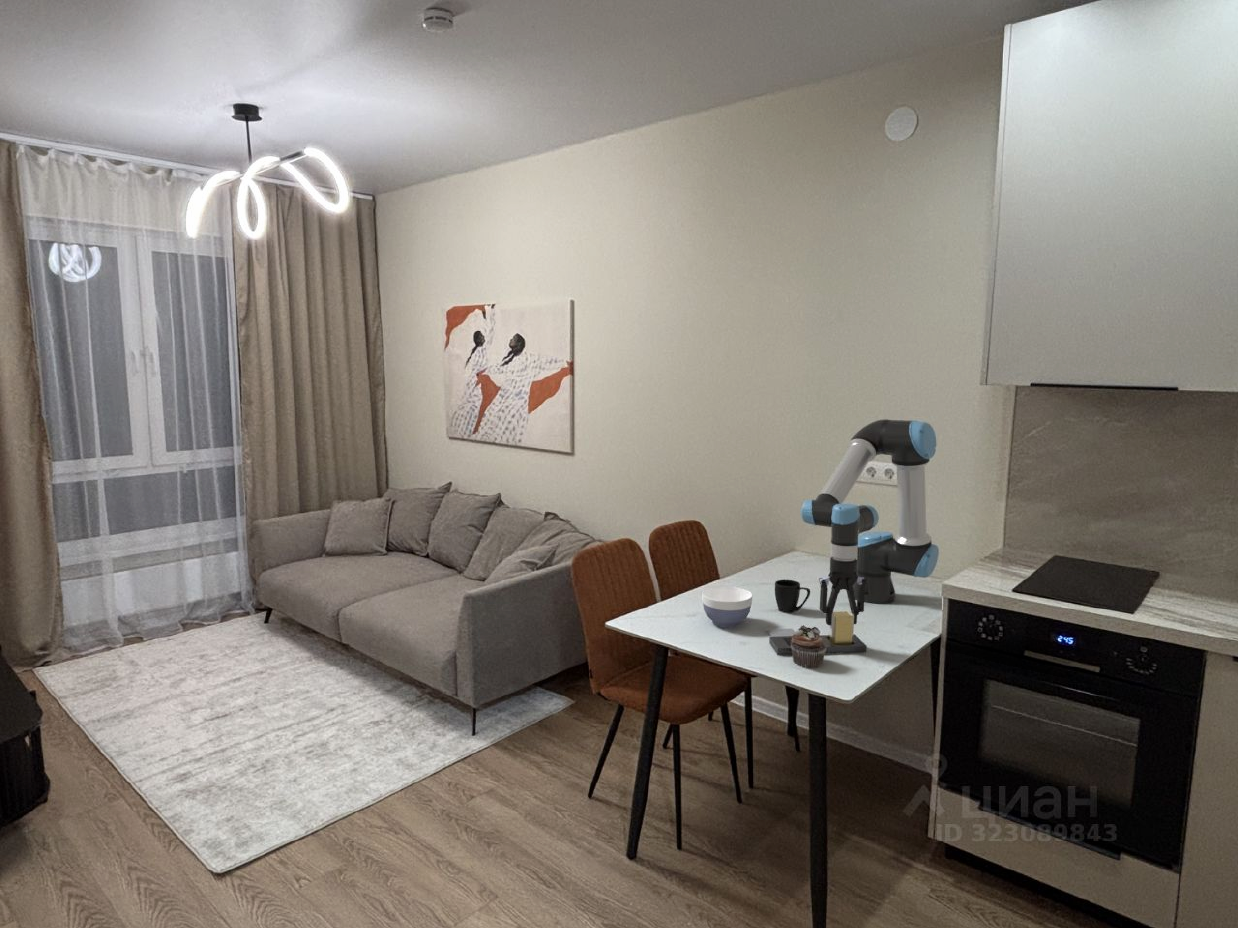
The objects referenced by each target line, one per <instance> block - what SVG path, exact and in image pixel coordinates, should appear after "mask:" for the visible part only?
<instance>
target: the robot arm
mask: <svg viewBox="0 0 1238 928" xmlns="http://www.w3.org/2000/svg"><path fill="white" fill-rule="evenodd" d="M936 447H937V437H936V432H935V429H934V428H933V427H932V426H931V424H930V423H928V422H926V421H918V420H906V419H905V420H901V419H900V420H898V419H886V418H885V419H879V420H878V419H877V420H875V421H872V422H871V423H869V424H867V425H865V426H863V427H862V428H861V429H860V430H858V431H857V432H856V433H855V434H854V435H853V437H852V438H850V441H849V442H848V443H847V450H846V453H845V454H844V456H843V457H842V459H841V460H840V462H839V463H838V465H837V466H836V468H835V470H834V471H833V472H832V474H831V476H830V477H829V478H828V480H827V481H826V483H825V485H824V486H823V488H822V489H821V491H820V492H819V493H818V495H817V497H816V499H812V498H811V499H806V500H804V502H803V503H802V506H801V509H800V516H801V519H802V521H803V522H804V523H806V524H808V525H812V526H819V527H827V528H831V529H830V530H831V536H830V538H831V539H830V556H831V557H830V558H829V573H828V576H827V577H823V578H822V577H820V578H819V579H818V581H819V584H820V593H819V594H820V595H819V599H820V600H819V611H821V612H822V613H823V614H825V624H826V625H828V631H827V632H828V634H827V635H830V636H831V637H834V624H835V615H834V614H833V612H834V609H835V606H836V602H837V599H838V596H839V594H840V592H841V590H846V594H847V599H848V603H849V608H850V611H847V612H848V613H849V614H850V615H851V616H852V617H853V632H852V636H853V635H854V632H855V631H854V626H855V625H857V623H858V616H859V614H860V613H863V612H864V611H865V603H870V604H871V603H873V604H888V603H892V602H894V601H895V600H896V590H895V587H894V583H893V580H892V573H895V574H900V575H905V576H911V577H914V578H922V579H923V578H924V579H925V578H928V577H930V576H931V575H932V574H933V572H934V571H935V568H936V566H937V563H938V560H939V555H940V553H939V547H938V545H936V544H935V543H932V542H933V541H932V536H931V535H930V534H929V533H928V532H927V505H926V502H927V501H926V500H927V499H926V498H927V497H926V471H925V470H926V466H927V465H928V464H929V463H930V459H932V458H933V457H934V456H935V454H936ZM879 455H886V456H891V457H890V458H891V464H892V465H894V467H896V482H897V483H896V484H897V505H898V506H897V509H898V511H897V512H898V533H897V534H896V535H895V536H894V535H893V533H892V532H889V531H871V530H872V529H873V528H875V527H876V526H877V525H878V523H879V519H880V518H879V517H880V516H879V513H878V511H877V509H876V508H875V507H874V506H872V505H869V504H861V505H856V504H854V503H853V504H852V503H845V502H844V501H845V500H846V499H847V497H848V496H849V494H850V492H851V491H852V489H853V488H854V486H855V484H856V483H857V481H858V479H859V478H860V476H861V475H862V473H863V471H864V470H865V468H866V467H867V465H868V463H870V462H871V461H872V462H873V460H874V459H876V457H877V456H879ZM868 531H869V532H868ZM859 534H860V535H859ZM829 582H830V583H831V584H832V585H831V591H830V594H829V598H828V590H829V589H828V586H829Z"/></svg>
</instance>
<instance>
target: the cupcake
mask: <svg viewBox="0 0 1238 928" xmlns="http://www.w3.org/2000/svg"><path fill="white" fill-rule="evenodd" d="M820 634H821V630H820V629H819V628H818V627H816V626H813V627H807V626H806V625H803V624H802V625H801V626H800V628H798V629H797V630H796V631H795V634H794V635H793V637H792V642H791V644H790V646H791V649H792V660H793V663H794V664H795V665H796V664H797V665H796V666H799V667H801V666H802V667H801V668H805V667H806V669H817V668H820V667H822V666H823V663H824V659H825V655H826V654H825V651H826V646H825V644H824V643H823V638H822V637H821V636H820Z"/></svg>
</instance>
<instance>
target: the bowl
mask: <svg viewBox="0 0 1238 928" xmlns="http://www.w3.org/2000/svg"><path fill="white" fill-rule="evenodd" d="M701 596H702V597H701V598H702V601H701V602H702V605H703V610H704V612H705V615H706V616H707V618H708V619H710V621H711V622H712V624H713V625H714V626H716V627H720V628H729V629H730V628H736V627H739V626H740V625H741V624H742V622H744V621H745V620H746V619H747V617H748V616H749V614H750V612H751V607H752V603H753V602H752V601H753V594H752V592H751V591H749V590H747V589H743V588H740V587H735V586H715V587H714V586H713V587H708V588H706V589H704V590H703V591H702V593H701Z"/></svg>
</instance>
